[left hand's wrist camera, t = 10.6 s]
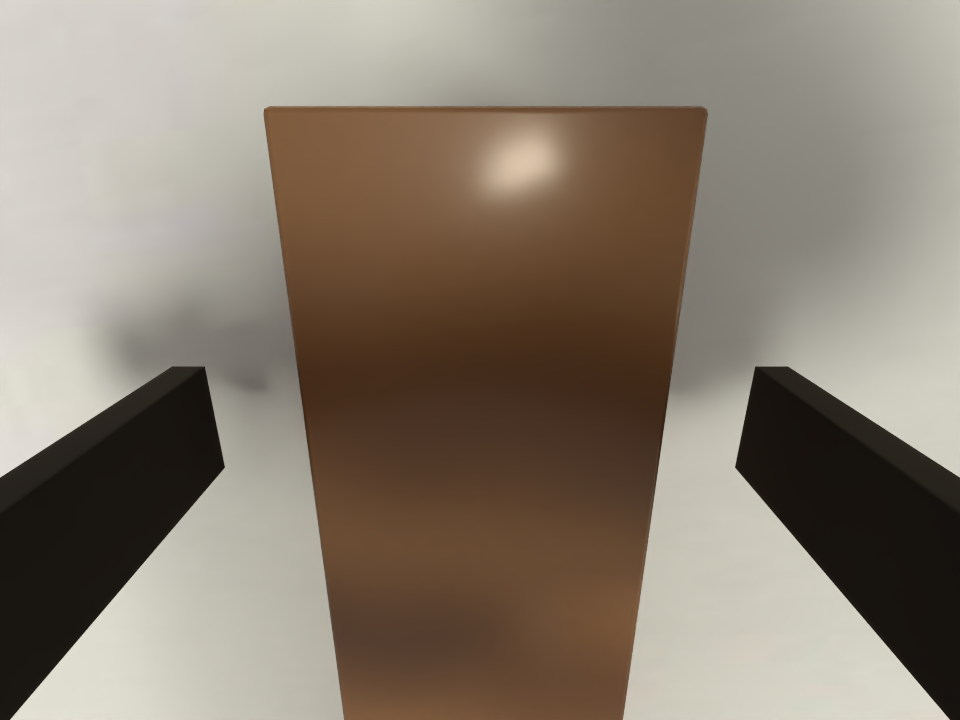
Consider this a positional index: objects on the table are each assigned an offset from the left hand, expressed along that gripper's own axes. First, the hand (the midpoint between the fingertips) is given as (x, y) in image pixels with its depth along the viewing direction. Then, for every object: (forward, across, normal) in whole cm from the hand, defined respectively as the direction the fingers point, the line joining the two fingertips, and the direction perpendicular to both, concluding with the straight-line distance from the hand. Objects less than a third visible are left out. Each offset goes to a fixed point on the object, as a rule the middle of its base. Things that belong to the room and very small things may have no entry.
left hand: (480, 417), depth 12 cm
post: (+4, 0, -22) cm, 23 cm away
